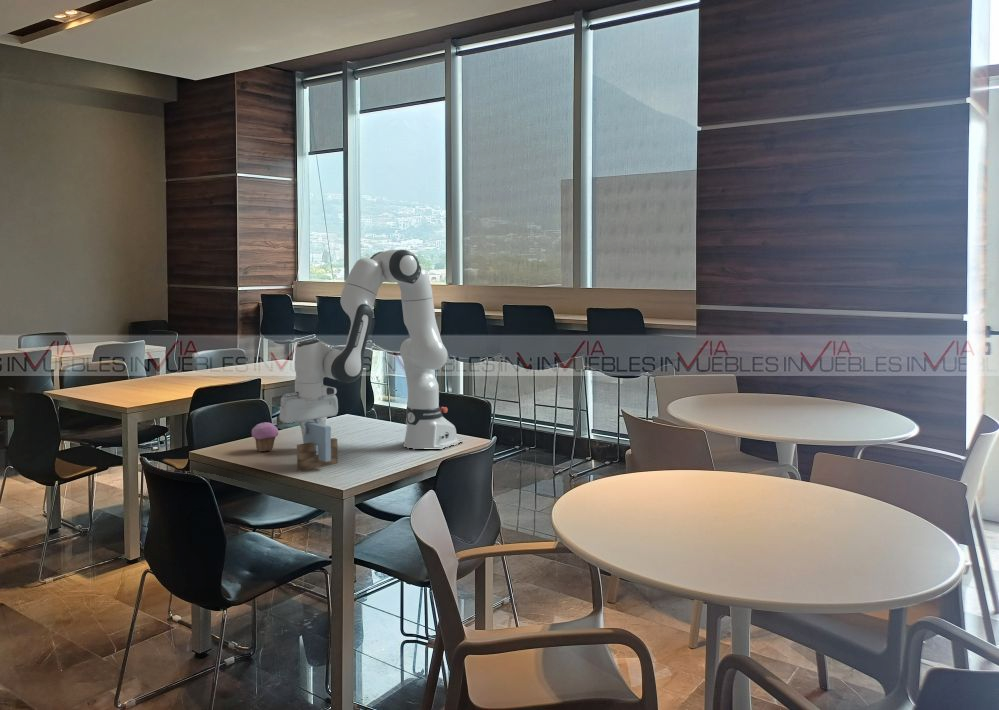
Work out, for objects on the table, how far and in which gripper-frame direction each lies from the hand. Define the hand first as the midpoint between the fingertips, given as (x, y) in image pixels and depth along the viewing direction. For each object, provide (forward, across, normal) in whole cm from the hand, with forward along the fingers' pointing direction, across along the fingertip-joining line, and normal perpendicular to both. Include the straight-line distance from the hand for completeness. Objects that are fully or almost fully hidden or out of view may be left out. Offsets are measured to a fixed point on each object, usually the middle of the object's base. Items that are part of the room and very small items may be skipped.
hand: (309, 433), depth 252 cm
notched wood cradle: (+10, 0, -4) cm, 11 cm away
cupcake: (+11, 0, +27) cm, 29 cm away
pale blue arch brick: (+8, 0, -4) cm, 9 cm away
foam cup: (+10, +13, +17) cm, 24 cm away
